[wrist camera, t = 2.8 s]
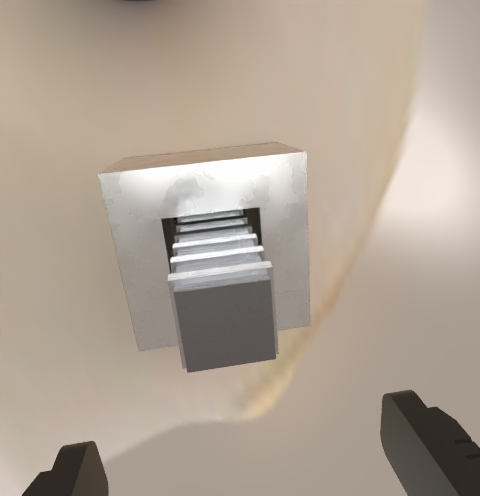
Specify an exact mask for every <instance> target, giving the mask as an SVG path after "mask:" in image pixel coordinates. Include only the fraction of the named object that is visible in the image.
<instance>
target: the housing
mask: <svg viewBox="0 0 480 496" xmlns="http://www.w3.org/2000/svg"><path fill="white" fill-rule="evenodd" d="M98 175H99V179H100V184H101V188H102V193H103V197H104V201H105V206H106V210H107V215H108V219H109V223H110V228H111V232H112V236H113V241H114V245H115V250H116V254H117V258H118V263H119V267H120V271H121V276H122V280H123V285H124V289H125V293H126V298H127V302H128V306H129V311H130V315H131V320H132V324H133V328H134V333H135V337H136V341H137V346H138V350H139V351H143V350H150V349H156V348H163V347H170V346H177V345H179V343H178V337H177V332H176V326H175V321H174V315H173V310H172V304H171V298H170V293H169V287H168V282H167V280H168V274H172V270H171V264H170V261H171V257H174V254H173V244H175V237H174V235H175V232H176V231H175V225H174V219H173V217H181V216H189V215H198V214H206V213H214V212H223V211H231V210H239V209H245V215H246V217H247V223H250V224H251V226H252V234H256V236H257V237H258V246H262V247H263V249H264V252H265V261H270V262H271V264H272V266H273V274H274V290H275V306H276V322H277V331H278V330H284V329H291V328H298V327H305V326H310V293H309V252H308V211H307V170H306V152H305V151H302V150H299V149H296V148H293V147H290V146H287V145H284V144H281V143H278V142H274V143H265V144H255V145H246V146H236V147H226V148H217V149H207V150H198V151H188V152H179V153H169V154H160V155H150V156H141V157H131V158H123V159H122V160H120V161H119V162H117V163H115V164H114V165H112V166H110V167H109V168H107V169H106V170H104V171H102V172H101V173H99V174H98Z"/></svg>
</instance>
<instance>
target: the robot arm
mask: <svg viewBox="0 0 480 496" xmlns="http://www.w3.org/2000/svg"><path fill="white" fill-rule="evenodd" d="M380 435H381V442H382V446H383V449H384V452H385V454H386V457H387V458H388V460H389V462H390V464H391V466H392V468H393V469H394V471H395V473H396V474H397V477H398V478H399V480H400V482H401V483H402V486H403V487H404V489H405V491H406V492H407V495H408V496H480V448H479V447H478V446H477V444H476V443H475V442H472V440H471V437H470V436H469V435H468V434H467V433H466V431H465V430H464V429H463V428H462V427H461V426H460V425H459V423H458V422H457V421H456V420H455V419H453V418H452V417H451V416H449V415H448V414H446V413H445V412H443V411H442V410H440V409H439V408H438V407H431V408H427V407H426V405H425V404H424V403H423V402H422V400H421V399H420V398H419V397H418V395H417V394H416V393H415V392H414V391H412V390H406V391H400V392H394V393H387V394H384V396H383V400H382V415H381V431H380ZM22 496H108V481H107V477H106V474H105V471H104V468H103V465H102V462H101V458H100V455H99V452H98V449H97V446H96V444H95V442H94V441H89V442H83V443H77V444H71V445H65V446H63V447H62V448H61V449H60V451H59V453H58V455H57V458H56V460H55V463H54V465H53V468H52V470H51V471H45V472H40V473H39V475H38V476H37V477H36V478H35V479H34V481H33V482H32V483H31V484H30V486H29V487H28V488H27V489H26V490H25V492H24V493H23V494H22Z"/></svg>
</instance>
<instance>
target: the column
mask: <svg viewBox="0 0 480 496" xmlns="http://www.w3.org/2000/svg"><path fill="white" fill-rule="evenodd" d="M177 220H178V223H176V230H177V232H175V235H174V237H175V244H173V254H174V257H171V261H170V264H171V270H172V274H168V280H167V282H168V287H169V293H170V298H171V304H172V310H173V315H174V321H175V326H176V332H177V337H178V343H179V348H180V354H181V360H182V365H183V368H187V372H188V373H189V372H195V371H202V370H208V369H214V368H221V367H227V366H234V365H240V364H247V363H253V362H260V361H266V360H272V359H276V354H279V353H278V338H277V322H276V306H275V290H274V274H273V266H272V264H271V262H270V261H265V252H264V249H263V247H262V246H258V237H257V236H256V234H252V226H251V224H250V223H247V217H246V215H243V209H239V210H231V211H223V212H214V213H206V214H198V215H189V216H181V217H177Z"/></svg>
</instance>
